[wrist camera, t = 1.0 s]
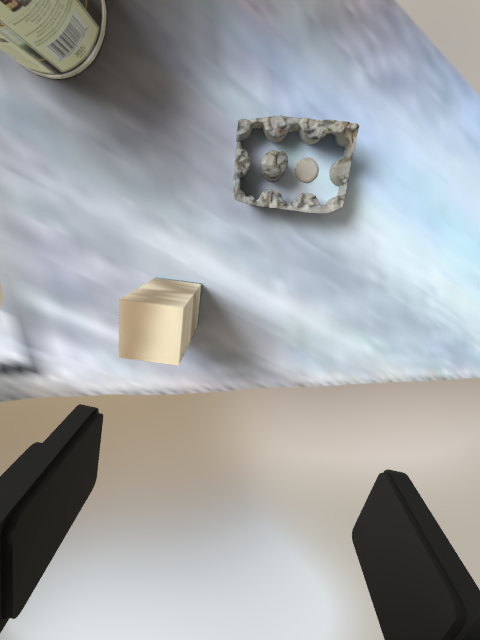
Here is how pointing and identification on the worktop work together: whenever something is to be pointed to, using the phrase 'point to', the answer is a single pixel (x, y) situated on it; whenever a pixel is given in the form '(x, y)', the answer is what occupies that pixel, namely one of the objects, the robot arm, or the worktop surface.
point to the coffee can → (52, 34)
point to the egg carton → (305, 168)
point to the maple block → (158, 320)
